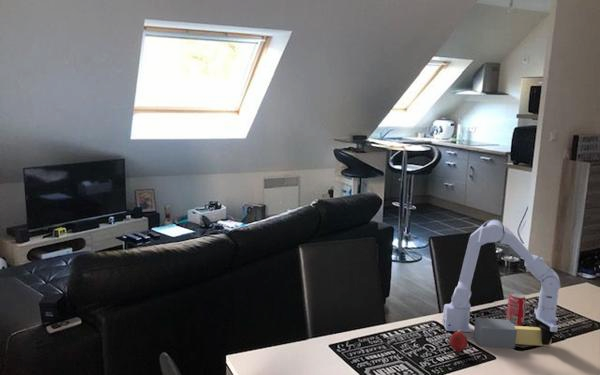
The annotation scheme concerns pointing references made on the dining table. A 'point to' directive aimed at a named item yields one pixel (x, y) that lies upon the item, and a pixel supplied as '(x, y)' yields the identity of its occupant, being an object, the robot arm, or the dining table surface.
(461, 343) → the onion
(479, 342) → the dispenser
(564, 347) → the dining table surface
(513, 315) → the beverage can
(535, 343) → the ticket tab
